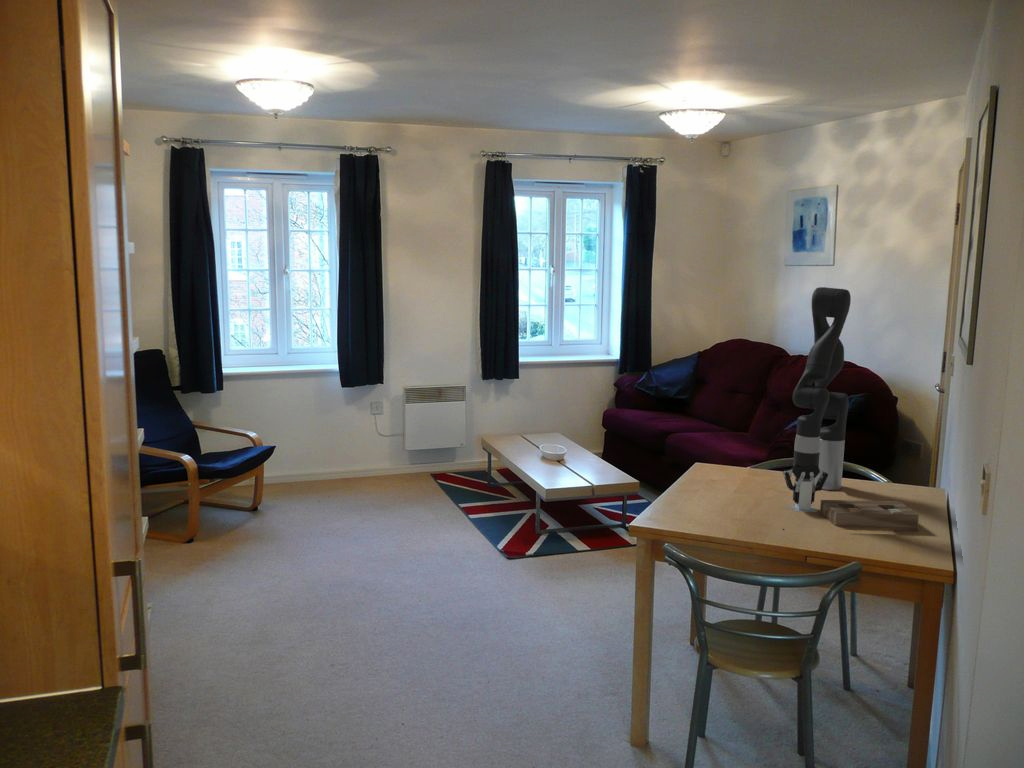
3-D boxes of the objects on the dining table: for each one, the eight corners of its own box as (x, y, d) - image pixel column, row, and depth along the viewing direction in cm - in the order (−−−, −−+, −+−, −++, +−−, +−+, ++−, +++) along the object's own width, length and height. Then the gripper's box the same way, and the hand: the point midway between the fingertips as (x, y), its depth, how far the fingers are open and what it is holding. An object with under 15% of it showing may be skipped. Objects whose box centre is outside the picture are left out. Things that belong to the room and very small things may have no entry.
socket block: (819, 515, 262) (821, 498, 261) (898, 517, 262) (899, 500, 261) (834, 529, 249) (836, 511, 248) (917, 530, 249) (918, 513, 248)
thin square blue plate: (788, 507, 270) (788, 504, 269) (810, 508, 270) (810, 505, 269) (794, 514, 263) (795, 511, 263) (817, 514, 263) (817, 511, 262)
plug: (795, 506, 268) (797, 476, 266) (806, 506, 268) (808, 476, 266) (798, 509, 264) (801, 479, 263) (810, 509, 264) (812, 480, 263)
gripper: (825, 447, 267) (821, 500, 269) (780, 446, 267) (776, 499, 269) (834, 452, 259) (830, 507, 262) (787, 451, 259) (784, 506, 262)
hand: (803, 502), depth 266 cm, fingers closed on plug, 3 cm apart
